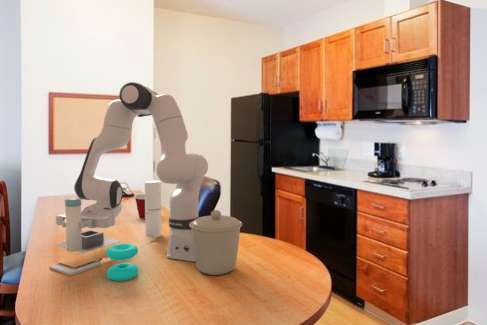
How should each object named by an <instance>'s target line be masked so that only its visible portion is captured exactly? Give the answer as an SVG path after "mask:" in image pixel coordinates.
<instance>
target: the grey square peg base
mask: <svg viewBox="0 0 487 325" xmlns="http://www.w3.org/2000/svg"><path fill="white" fill-rule="evenodd" d="M119 242H121V240H119V239H116V238H115V239H114V238H112V237H106V236H104V232H102V231H99V230H98V231H97V230H94V229H89V230H85V231H82V250H80V251H77V252H79V253H83V254H84V253H88V252H90V251H93V250H96V249H99V248H103V247H106V246H109V245H112V244H115V243H119ZM56 246H58V247H62V248H65V249H67V248H66V241H65V242H61V243H58V244H56Z"/></svg>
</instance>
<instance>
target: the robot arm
mask: <svg viewBox="0 0 487 325" xmlns="http://www.w3.org/2000/svg"><path fill="white" fill-rule="evenodd" d="M118 96H119V99H114V100H112V101H111V102H110V103H109V104H108V107H107V109H106V112H105V115H104V119H103V123H102V129H101V131H100V132H99V134H98V135H97V136H95V137H94V138H93V139H92V140H91V142H90V144H89V147H88V150H87V152H86V156H85V158H84V162H83V165H82V168H81V169H80V172H79V175H78V177H77V179H76V181H75V183H74V187H73V188H74V193H75V195H76V196H77V198H81V200H86V201H95V203H94V204H91V205H90V204H89V205H87V206H85V207H84V208H83V209H82V210H81V223H79V228H82V229H84V228H89V229H97V228H98V229H100V228H101V229H107V228H110V227H113V226H115V223H116V218H117V217H118V216H119V215H120V213H121V212H122V206H123V205H122V201H123V196H124V190H123V187H122V185H121V183H120V181H119V180H117V179H111V178H105V177H99V176H96V175H95V173H96V170H97V167H98V164H99V161H100V158H101V156H102V155H104V154H105V153H106V152H110V151H116V150H120V149H121V148H124V147H126V145H128V143H130V139H131V135H132V129H133V124H134V120H135V118H137V117H139V118H143V117H147V116H148V117H149V116H152V118H153V119H152V120H153V122H154V125H155V128H156V131H157V136H158V139H159V142H160V159H159V161H158V163H157V164H156V168H155V169H156V176H157V178H158V179H159V181H161V182H163V183H164V184H169V185H175V188H174V190H173V192H172V193H171V195H170V198H169V217H168V227H169V233H168V234H169V236H168V243H167V248H166V251H165V252H166V258H167V259H172V260H180V261H187V262H194V263H196V259H195V252H194V245H193V236H192V228H191V227H190V223H191V222H192V221H194V220H195V219H197V218H200V216H199V194H200V191H201V187H202V182H203V179H204V177H205V176H206V174H207V172H208V170H209V165H208V164H209V163H208V161H207V159H206V158H205V156H203V155H201V154H198V153H187V151H186V141H187V140H188V138H189V135H188V131H187V128H186V125H185V120H184V118H183V115H182V112H181V110H180V107H179V105H178V103H177V101H176V99H175V98H174V97H173V96H172V95H170V94H167V93H165V94H164V93H163V94H159V95H158V93H157V92H155V91H154V90H152V89H151V88H150V87H148V86H146V85H144V84H141V83H140V82H134V81H132V82H127V83H125V84H123V86H121V88H120V91H119V94H118ZM55 223H56V226H61V227H62V228H66V212H64V213H59V214H57V215H56V217H55Z"/></svg>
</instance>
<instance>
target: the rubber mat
mask: <svg viewBox="0 0 487 325" xmlns="http://www.w3.org/2000/svg"><path fill="white" fill-rule="evenodd" d="M101 265H102V262H101V261H97V260H93V261H90V262H87V263H83V264H81V265H78V266H71V265H69V264H65V263H61V262H59V263H55V264H53V265H49V268H48V269H50V270H53V271H56V272H59V273H61V274H63V275H68V276H73V275H76V274H79V273H83V272H84V271H88V270H91V269H93V268H95V267H98V266H101Z"/></svg>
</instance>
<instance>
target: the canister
mask: <svg viewBox="0 0 487 325" xmlns="http://www.w3.org/2000/svg"><path fill="white" fill-rule="evenodd" d="M242 226H243V223H242V221H241V220H239V219H237V218H235V217H233V216H231V215H229V216H228V215H222V212H221V211H220V210H218V209H215V210H212V211H211V212H210V215H205V216H199V218H197V219H195V220H194V221H192V222H191V223H190V227H191V228H192V236H193V245H194V252H195V259H196V262H195V265H196V268H197V270H198V271H199V272H200V273H202V274H205V275H210V276H220V275H224V274H225V275H227V274H229V273H231V272H232V271H233V270H234V268H235V266H236V264H237V261H238V260H237V258H238V253H239V252H238V250H239V244H240V243H239V241H240V235H241V234H240V233H241V227H242Z"/></svg>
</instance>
